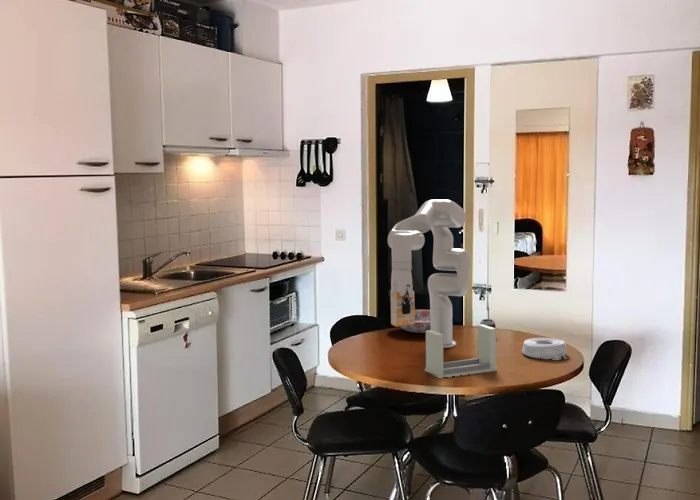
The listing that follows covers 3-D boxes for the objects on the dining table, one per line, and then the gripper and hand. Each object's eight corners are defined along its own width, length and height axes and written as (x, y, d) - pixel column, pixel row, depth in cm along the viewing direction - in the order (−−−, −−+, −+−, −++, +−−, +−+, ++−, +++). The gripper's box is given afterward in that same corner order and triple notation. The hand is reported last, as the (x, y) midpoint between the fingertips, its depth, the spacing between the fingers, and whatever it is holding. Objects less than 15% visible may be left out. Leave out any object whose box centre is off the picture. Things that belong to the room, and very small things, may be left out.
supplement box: (396, 327, 275) (395, 293, 274) (390, 324, 280) (389, 291, 278) (415, 324, 278) (414, 290, 277) (409, 322, 283) (408, 289, 281)
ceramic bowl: (387, 326, 358) (387, 310, 357) (446, 324, 360) (446, 308, 359) (394, 339, 329) (394, 322, 329) (458, 337, 331) (458, 320, 330)
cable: (568, 361, 287) (568, 346, 286) (522, 360, 290) (522, 345, 289) (564, 350, 304) (564, 336, 303) (521, 349, 307) (521, 335, 307)
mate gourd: (486, 340, 325) (486, 306, 324) (475, 336, 332) (475, 304, 330) (499, 337, 329) (499, 305, 327) (487, 334, 336) (487, 302, 334)
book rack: (424, 371, 275) (424, 330, 274) (481, 363, 285) (481, 323, 283) (439, 378, 265) (438, 335, 263) (497, 370, 274) (497, 329, 273)
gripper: (383, 263, 283) (384, 309, 285) (402, 269, 267) (404, 317, 269) (400, 262, 285) (401, 307, 288) (421, 267, 270) (422, 315, 272)
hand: (402, 311), depth 278 cm, fingers closed on supplement box, 4 cm apart
